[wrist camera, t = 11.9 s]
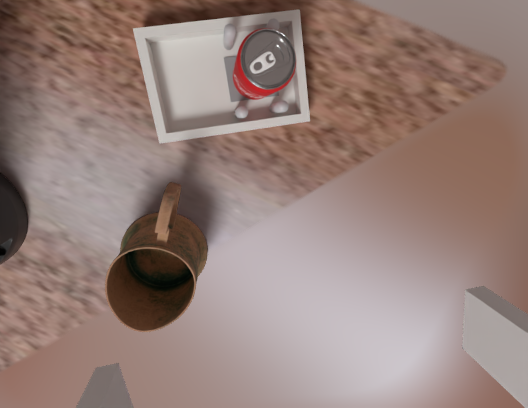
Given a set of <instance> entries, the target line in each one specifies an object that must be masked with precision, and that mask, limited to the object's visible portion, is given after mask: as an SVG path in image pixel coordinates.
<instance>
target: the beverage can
mask: <svg viewBox="0 0 528 408" xmlns="http://www.w3.org/2000/svg"><path fill="white" fill-rule="evenodd" d="M295 69H296V53H295V50H294V47H293V45H292V43H291V41H290V40H289V39H288V38H287V37H286V36H285V35H284V34H283V33H281V32H280V31H278V30H275V29H271V28H261V29H258V30H255V31H253V32H251V33H250V34H249V35H247V36H246V37H245V39H244V40H243V41H242V43H241V45H240V47H239V50H238V54H237V57H236V61H235V65H234V69H233V82H234V85H235V87H236V89H237V90H238V92H239V93H240V94H241V95H243V96H244V97H246V98H248V99H252V100H258V99H262V98H264V97H266V96H269V95H271V94H273V93H275V92H277V91H279V90H281V89H283V88H284V87H285V86H286V85H287V84H288V83H289V82H290V81H291V79H292V77H293V75H294V73H295Z"/></svg>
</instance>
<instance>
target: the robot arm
mask: <svg viewBox="0 0 528 408" xmlns="http://www.w3.org/2000/svg"><path fill="white" fill-rule="evenodd" d="M26 231H27V214H26V209H25V206H24V203H23V201H22V199H21V197H20V195H19V193H18V192H17V190H16V189H15V187H14V186H13V185H12V184H11V183H10V182H9V180H8V179H7V178H5V177H4V176H3V175H2V174H1V173H0V264H2V263H4V262H5V261H7V260H8V259H9V258H11V257H12V256H13V255H14V254H15V253H16V252H17V251H18V249H19V248H20V246H21V245H22V243H23V241H24V238H25V235H26ZM462 348H463V349H464V350H465V351H466V352H467V353H468V354H469V355H470V356H471V357H472V358H473V359H474V360H475V361H476V362H478V363H479V364H480V365H481V366H482V367H483V368H484V369H485V370H486V371H487V372H488V373H489V374H490V375H491V376H492V377H493V378H495V380H496V381H498V382H499V383H500V384H501V385H502V386H503V387H504V388H505V389H506V390H507V391H508V392H509V393H510V394H511V395H512V396H513V397H514V398H515V399H516V400H518V401H519V402H520V403H521V404H522V405H523V406H524V407H525V408H528V314H527V313H525V312H523V311H522V310H520V309H519V308H517V307H516V306H514V305H512V304H511V303H509V302H508V301H506V300H505V299H503V298H502V297H500V296H498V295H497V294H495V293H494V292H492V291H491V290H489V289H487V288H486V287H484V286H481V287H476V288H471V289H467V290H465V307H464V323H463V345H462ZM76 408H133V405H132V402H131V399H130V396H129V393H128V390H127V387H126V384H125V381H124V378H123V375H122V372H121V369H120V366H119V363H116V364H112V365H106V366H102V367H97V368H96V369H95V371H94V373H93V375H92V377H91V379H90V381H89V383H88V385H87V387H86V389H85V391H84V393H83V395H82V397H81V399H80V401H79V403H78V405H77V407H76Z"/></svg>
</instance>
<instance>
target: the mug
mask: <svg viewBox="0 0 528 408" xmlns="http://www.w3.org/2000/svg"><path fill="white" fill-rule="evenodd" d="M180 192H181V184H177V183H173V182H170V183H169V184H168V185H167V187H166V189H165V192H164V195H163V198H162V202H161V206H160V210H159V212H158V213H152V214H149V215H146V216H144V217H142V218H140V219H138V220H137V221H136V222H134V223H133V224H132V225H131V226H130V227H129V229H128V230H127V231H126V233H125V235H124V237H123V239H122V242H121V248H120V254H119V255H118V256H117V257H116V258H115V260H114V261H113V262H112V264H111V265H110V267H109V269H108V272H107V275H106V281H105V292H106V298H107V302H108V304H109V307H110V309H111V310H112V312H113V313H114V315H115V316H116V317H117V318H118V320H119V321H120V322H121V323H123V324H124V325H125V326H126V327H128V328H130V329H132V330H135V331H139V332H150V331H155V330H158V329H161V328H163V327H165V326H167V325H169V324H171V323H172V322H174V321H175V320H177V319H178V318H179V317H180V316H181V315H182V314H183V313H184V312H185V311H186V309H187V308H188V307H189V305H190V303H191V301H192V299H193V297H194V293H195V289H196V281H197V277H198V276H199V275H200V273H201V272H202V270H203V268H204V266H205V264H206V260H207V244H206V240H205V237H204V235H203V234H202V232H201V230H200V229H199V228H198V227H197V226H196V225H195V224H194V223H193V222H192V221H190V220H189V219H187V218H186V217H184V216H181V215H178V214H177V208H178V202H179V197H180Z"/></svg>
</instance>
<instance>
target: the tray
mask: <svg viewBox="0 0 528 408" xmlns="http://www.w3.org/2000/svg"><path fill="white" fill-rule="evenodd" d="M261 28H271V29H275V30H278V31H280V32H281V33H283V34H284V35H285V36H286V37H287V38H288V39H289V40H290V41H291V43H292V45H293V47H294V50H295V53H296V69H295V73H294V75H293V77H292V79H291V81H290V82H289V83H288V84H287V85H286V86H285V87H284V88H283V89H281V90H279V91H277V92H275V93H273V94H271V95H269V96H266V97H264V98H262V99H258V100H252V99H248V98H246V97H244V96H243V95H241V94H240V93H239V92H238V90H237V89H236V87H235V85H234V82H233V69H234V65H235V61H236V57H237V54H238V50H239V47H240V45H241V43H242V41H243V40H244V39H245V37H246V36H247V35H249V34H250V33H251V32H253V31H255V30H258V29H261ZM133 31H134V36H135V40H136V44H137V48H138V53H139V57H140V61H141V66H142V70H143V74H144V79H145V83H146V87H147V92H148V96H149V100H150V105H151V109H152V113H153V118H154V122H155V126H156V131H157V135H158V139H159V144H160V143H167V142H173V141H180V140H187V139H194V138H200V137H207V136H214V135H220V134H227V133H234V132H240V131H247V130H254V129H261V128H267V127H274V126H281V125H287V124H294V123H301V122H307V121H310V115H309V105H308V94H307V83H306V72H305V61H304V51H303V40H302V29H301V18H300V9H299V10H290V11H281V12H273V13H264V14H255V15H246V16H238V17H229V18H220V19H212V20H203V21H194V22H185V23H177V24H168V25H159V26H151V27H142V28H133Z"/></svg>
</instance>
